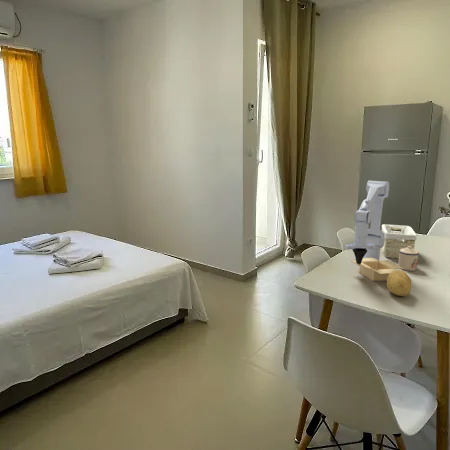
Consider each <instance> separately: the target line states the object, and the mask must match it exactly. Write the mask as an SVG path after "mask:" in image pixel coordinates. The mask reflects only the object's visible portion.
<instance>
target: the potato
mask: <svg viewBox="0 0 450 450" xmlns="http://www.w3.org/2000/svg"><path fill="white" fill-rule="evenodd" d="M412 285H413V283H412V279H411V277H410V276H409V274H408V273H407V272H405V270H401V269H395V271H392V272H391V273H390V274H389V276H388V278H387V280H386V286H387V288H388V291H389V292H390V293H392V294H394V295H396V296H399V297H405V296H408V295H409V294H410V293H411V289H412Z"/></svg>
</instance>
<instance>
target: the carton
mask: <svg viewBox="0 0 450 450" xmlns="http://www.w3.org/2000/svg"><path fill="white" fill-rule="evenodd" d="M354 259H355V260H354V261H356V258H354ZM362 263H364V264H366V265H367V266H369V267H371V268H372V270H370V269H363V268H361V267H360V266H359V270H358V271H359V272H358V273H360V274H361V275H363V276H364V277H366V278H367V279H369V280H371V281H372V282H376V281H377V282H380V281H381V282H382V281H387V278H388V276H389V274H390V273H391V272H392V271H395V270H403V268H402V267H400V266H398V264H397V263H395V262H392V261H391V260H388V259H386V260H385V259H384V260H383V259H382V260H379V261H378V260H376V259H375V258H363V259H362Z"/></svg>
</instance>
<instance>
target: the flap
mask: <svg viewBox="0 0 450 450" xmlns="http://www.w3.org/2000/svg"><path fill="white" fill-rule="evenodd" d="M351 262H352V263H353V264H355V265H356V266H358V267H359V268H360V267H361V268H363V269H370V270H372V268H371V267H369V266H367V265H366V264H364V263H362V262H361V264H357V263H356V260H351Z"/></svg>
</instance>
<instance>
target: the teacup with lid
mask: <svg viewBox="0 0 450 450" xmlns="http://www.w3.org/2000/svg"><path fill="white" fill-rule="evenodd" d="M399 252H400V253H399V258H398V262H397V263H398V264H397V265H398V266H400V267H402V268H403V269H402V271H416V270H418V261H419V255H420V251H419V250H417V249H415V248H414V249H413V248H412V246H408V248H404V249H400V251H399Z"/></svg>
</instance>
